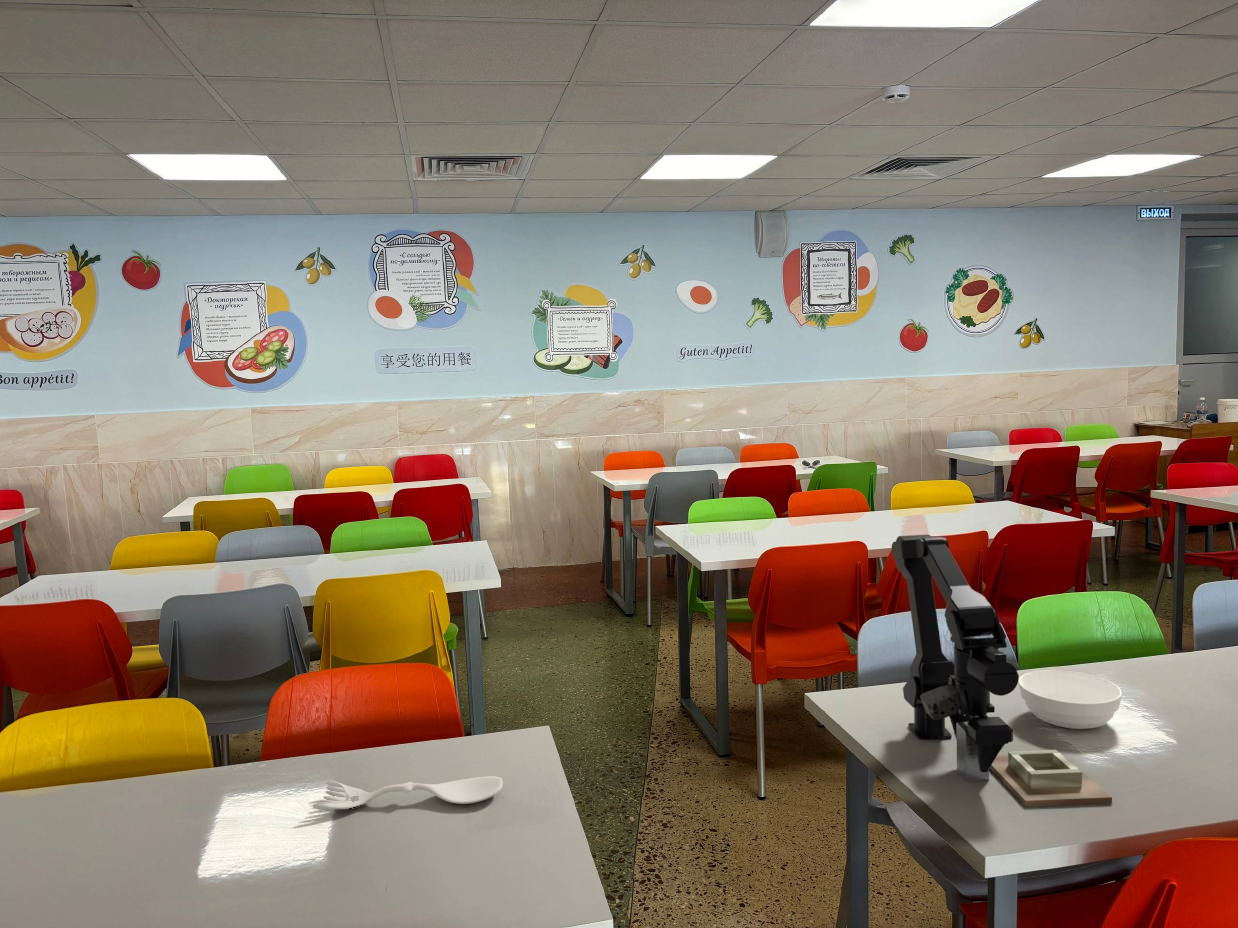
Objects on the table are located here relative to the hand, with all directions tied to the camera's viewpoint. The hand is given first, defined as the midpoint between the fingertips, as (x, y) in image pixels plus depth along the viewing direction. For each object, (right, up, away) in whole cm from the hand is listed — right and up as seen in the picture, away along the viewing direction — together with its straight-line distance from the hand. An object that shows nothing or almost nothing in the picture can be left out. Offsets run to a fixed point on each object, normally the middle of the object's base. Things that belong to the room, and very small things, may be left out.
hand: (972, 759), depth 144 cm
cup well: (+11, -3, -3) cm, 12 cm away
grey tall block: (0, -3, 0) cm, 3 cm away
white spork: (-99, -8, +1) cm, 99 cm away
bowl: (+28, 0, +21) cm, 35 cm away
